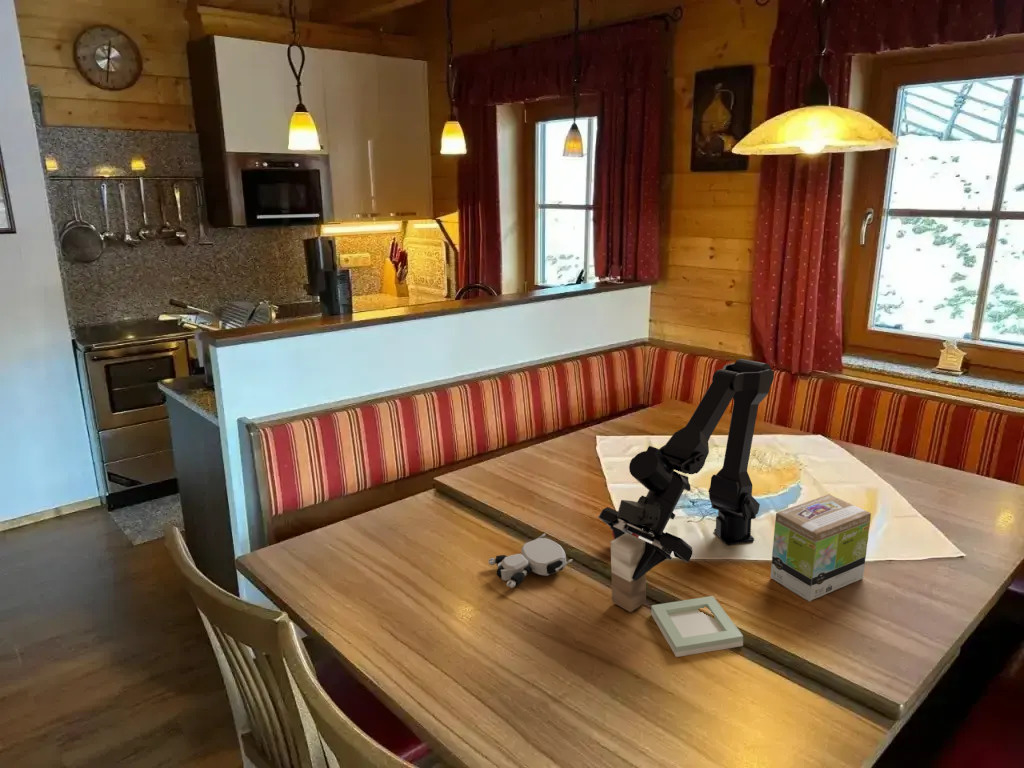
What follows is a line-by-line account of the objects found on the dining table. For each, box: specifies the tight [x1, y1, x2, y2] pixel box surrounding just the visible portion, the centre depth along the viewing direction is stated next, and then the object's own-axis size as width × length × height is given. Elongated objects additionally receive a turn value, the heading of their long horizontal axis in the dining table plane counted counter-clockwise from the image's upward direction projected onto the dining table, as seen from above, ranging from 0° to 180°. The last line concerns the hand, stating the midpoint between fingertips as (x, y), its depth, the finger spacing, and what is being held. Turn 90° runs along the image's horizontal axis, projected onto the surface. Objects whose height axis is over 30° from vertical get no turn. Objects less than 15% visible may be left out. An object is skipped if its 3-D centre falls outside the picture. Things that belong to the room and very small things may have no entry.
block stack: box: [610, 533, 647, 613], centre depth 132 cm, size 4×4×13 cm
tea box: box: [769, 494, 872, 602], centre depth 136 cm, size 15×10×15 cm, turn 117°
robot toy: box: [488, 533, 574, 588], centre depth 146 cm, size 12×4×15 cm
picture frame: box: [650, 595, 744, 658], centre depth 125 cm, size 12×12×2 cm
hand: (623, 574), depth 131 cm, fingers closed on block stack, 4 cm apart
